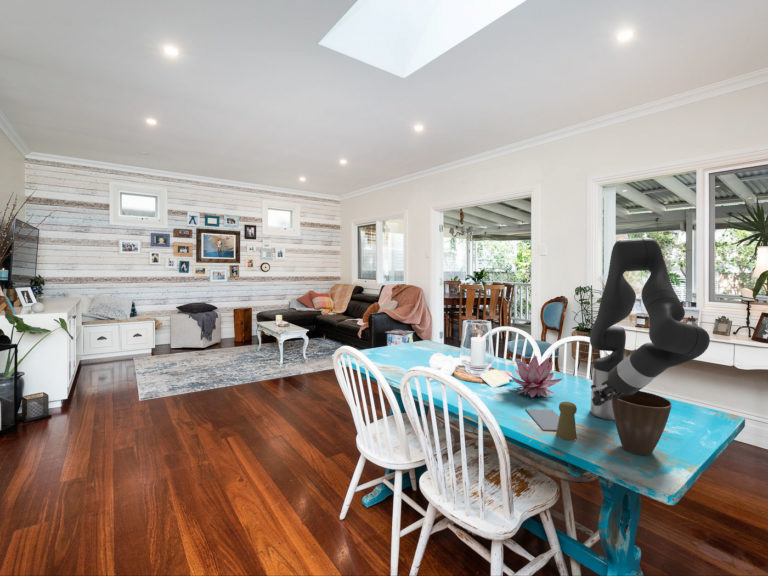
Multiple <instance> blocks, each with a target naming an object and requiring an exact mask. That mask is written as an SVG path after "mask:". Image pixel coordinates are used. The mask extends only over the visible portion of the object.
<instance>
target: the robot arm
mask: <svg viewBox="0 0 768 576" xmlns="http://www.w3.org/2000/svg"><path fill="white" fill-rule="evenodd" d="M609 261H610V262H609V267H608V273H607V278H606V283H605V285H604V288H603V292H602V294H601V299H600V302H599V307H598V311H597V316H596V318H595V320H594V323H593V325H592V327H591V330H590V335H589V343H590V346H591V347H592V348H593V349H594V350H598V351H603V352H611V353H609V354H608V355H606V356H603V357H600V358H596V359H594V361H593V366H592V367H593V370H592V383H591V385H590V389H591V396H590V413H591V414H592V415H593V416H595V417H597V418H599V419H603V420H608V421H609V420H610V421H615V419H614V414H613V407H612V399H614V400H616V399H618V398H621V397H624V396H627V395H632V394H635V393H636V392H638V391H641V390H642V389H643V388H644V387H646V386H647V385H649V384H650V383H652V382H653V381H654V380H655V379H656V377H658V376H659V375H661V374H662V373H664V371H666V370H668V369H670V368H672V367H676V366H679V365H682V364H685V363H687V362H690V361H692V360H694V359H697V358H699V357H700V356H702V355H703V354H704V353H705V352H706V350H708V348H709V345H710V342H711V341H710V340H711V338H710V335H709V333H708V331H707V330H705V329H704V328H703V327H700V326H699V325H695V324H691V323H686V322H682V320H683V319H684V317H685V316H686V315H685V314H686V311H685V309H684V306H683V303H682V302H681V300H680V299H679V296H678V295H677V293H676V291H675V289H674V287H673V285H672V282H671V280H670V279H671V278H670V275H669V272H668V267H667V265H666V260H665V257H664V254H663V251H662V248H661V246H660V245H659V243H658V242H657V240H655V239H654V238H652V237H641V238H637V237H636V238H623V239H619V240H617V241H615V243H614V245H613V246H612V249H611V253H610V259H609ZM639 271H640V272H642V271H649V273H650V275H649V276H648V278H647V280H646V282H645V283H644V285H643V287H642V290H641V296H640V297H641V301H642V304H643V306H644V308H645V310H646V313H647V316H648V336H649V337H648V338H649V339H650V341H651V342H646V343H644V344H642V345H640V346H639V347H637V349H636V350H635V351H633V352H632V353H631V354H630V355H628V356H626V357H625V348H626V340H627V334H626V329H625V328H624V327H623V326H619V325H616V324H619V323H620V322H622V321H624V320H625V319H626V318H627V317H629V316H630V315H631V313H632V311H633V309H634V306H635V303H636V300H637V294H636V292H635V289H634V288H633V287H632V286H631V284H630V283H629V282H628V281H627V279H626V278H625V276H624V274H625V273H627V272H639Z"/></svg>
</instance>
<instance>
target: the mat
mask: <svg viewBox="0 0 768 576" xmlns="http://www.w3.org/2000/svg"><path fill="white" fill-rule="evenodd" d="M525 411H526V412H527V414H529V416H530V417H531V418H532V420H534V422H535V421H536V424H537V425H538V426H539V427H540V428H541V430H542V431H545V432H547V431H549V432H557V427H558V422H559V417H560V414H558V413H557V412H555V411H554V409H550V408H548V409H547V408H544V409H540V408H537V409H536V408H525Z"/></svg>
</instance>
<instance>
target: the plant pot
mask: <svg viewBox="0 0 768 576" xmlns="http://www.w3.org/2000/svg"><path fill="white" fill-rule="evenodd" d="M672 406H673V404H672V402H671V401H670V400H669V399H667V398H665V397H663V396H661V395H658V394H655V393H651V392H646V391H642V390H639V391H638V392H636V393H635V394H632V395H627V396H624V397H621V398H618V399H616V400H614V399H612V407H613V414H614V419H615V420H614V423H615V427H616V431H617V435H618V438H619V441H620V443H621V446H622V448H623V449H624V450H625V451H627V452H629V453H631V454H635V455H639V456H649V455H650V456H651V455H652V454H653V452H654V450H655V448H656V447H657V445H658V444H659V441H660V440H661V437H662V435H663V433H664V431H665V428H666V425H667V424H668V419H669V417H670V413H671V410H672Z"/></svg>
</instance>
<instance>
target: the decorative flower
mask: <svg viewBox="0 0 768 576" xmlns="http://www.w3.org/2000/svg"><path fill="white" fill-rule="evenodd" d="M515 361H516V362H515V363H516V366H517V368H515V367H514V371H515V373H516V375H517V377H518V378H520V379H521V380H520V379H518V378H516V377H515V376H514V377H513V376H511V374H509V373H508V372H505V373H506V374H507V375H508V376H509V377H511V379H512V380H513V381H514V382H515V383H516V384H518V386H519V387H513V389H514V390H517V389H521V390H519V391H518V392H516V394H523V393H524V395H527V394H528V395H529V396H530V397H531V398H533V397H535V396H537V397H539V398H541V396H542V397H544V398H547V399H549V398H550V397H549V395H548V394H550V395H555V394H556V393H554V392H553V391H551V390H549V388H550V387H552V386H555V385H556V384H558V383H560V382H561V381H562V380H563V377H562V378H556V379H553V377H554V374H555V372H553V371H552V369H553V361H551V362H550V360H549V358H545V360H543V361H542V362H541V363H540V364H539V361H538V357H537V355H534V356H533V357H532V359H531V360H530V362H529V364H528V365H527V363H526V360H525V356H524V355H522V356H521V360H518V358H517V357H516V358H515ZM551 371H552V372H551Z"/></svg>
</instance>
